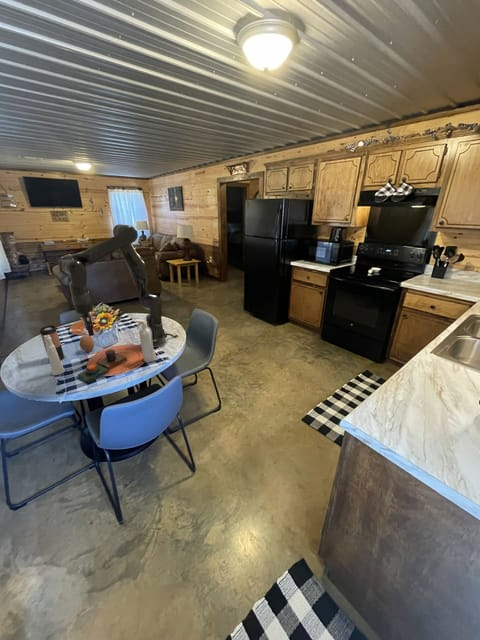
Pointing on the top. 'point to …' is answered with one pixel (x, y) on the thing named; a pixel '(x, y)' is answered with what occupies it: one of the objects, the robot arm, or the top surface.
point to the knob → (110, 355)
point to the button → (91, 367)
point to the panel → (112, 362)
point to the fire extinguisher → (146, 341)
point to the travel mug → (54, 337)
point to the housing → (92, 373)
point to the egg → (86, 343)
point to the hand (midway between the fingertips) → (90, 332)
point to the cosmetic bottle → (53, 357)
